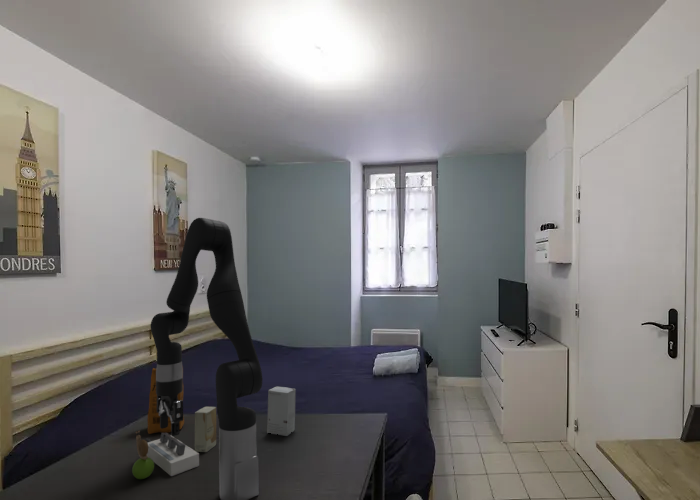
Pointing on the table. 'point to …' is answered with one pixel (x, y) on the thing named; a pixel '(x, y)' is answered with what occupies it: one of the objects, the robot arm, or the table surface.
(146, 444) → the snail figurine
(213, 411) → the skincare box
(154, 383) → the coffee package
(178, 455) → the strip
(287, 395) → the skincare box
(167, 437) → the breaker paddles
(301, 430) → the table surface
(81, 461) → the table surface
